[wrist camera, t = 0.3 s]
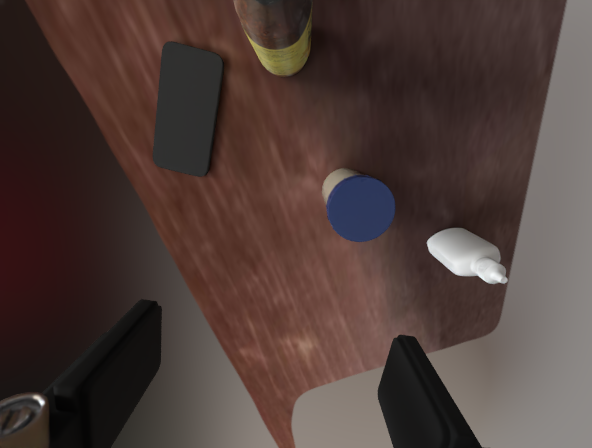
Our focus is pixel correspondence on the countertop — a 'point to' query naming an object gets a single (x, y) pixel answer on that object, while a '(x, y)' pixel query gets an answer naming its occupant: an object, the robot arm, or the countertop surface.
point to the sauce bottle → (278, 32)
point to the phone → (187, 108)
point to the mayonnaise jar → (336, 180)
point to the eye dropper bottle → (467, 255)
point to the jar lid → (360, 208)
